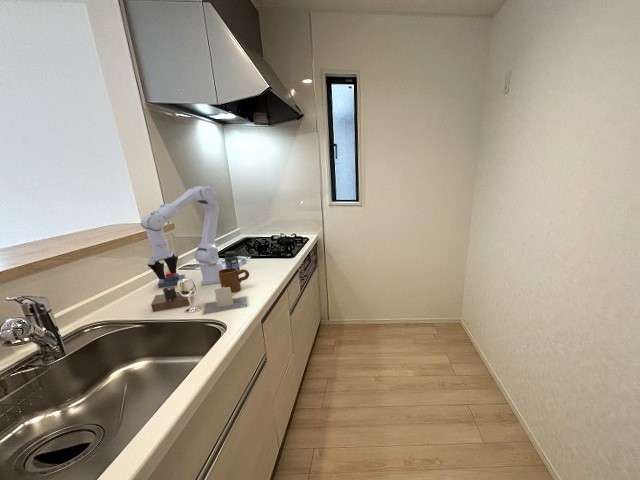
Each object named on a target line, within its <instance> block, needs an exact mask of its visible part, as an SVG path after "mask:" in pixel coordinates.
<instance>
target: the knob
mask: <svg viewBox="0 0 640 480" xmlns="http://www.w3.org/2000/svg"><path fill="white" fill-rule="evenodd" d="M162 292H163V294H164V296H165V298H166V299H171V298H174V297H176V296H177V294H176V292H177V291H176V286H170V287H163V288H162Z"/></svg>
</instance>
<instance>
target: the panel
mask: <svg viewBox="0 0 640 480" xmlns="http://www.w3.org/2000/svg"><path fill="white" fill-rule="evenodd" d="M176 294H177V296H176V297H174V298H171V299H166V298H165V296H164V293H161V294H156V295H155V296H154V298H153V300H152V302H151V304H150V306H151V310H152V312H153V313H154V312H161V311H166V310H172V309H178V308H183V307H184V308H185V307H188V306H189V307H190V306H191V305H190V302H189V300H188V297H183V296H181V295H180V294H179V292H178V291H176ZM190 297H191V298H192V296H190Z"/></svg>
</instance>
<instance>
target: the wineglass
mask: <svg viewBox="0 0 640 480" xmlns="http://www.w3.org/2000/svg"><path fill="white" fill-rule="evenodd" d="M176 286H177V287H176V288H177V292H179V294H180V295H181V296H183V297H188V300H189V302H190V305H189V306H190V307H189V308H187V309H186V310H185V312H186V313H193V312H194V313H195V312H197V311H199V310H200V308H199V307H197V306H193V303H192V296H194V295H195V294H196V293H197V287H196V284H195V282H194V280H193V279H192V278H186V279H182V280H179V281H178V282H177V285H176ZM190 296H191V297H190Z"/></svg>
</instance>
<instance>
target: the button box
mask: <svg viewBox="0 0 640 480" xmlns="http://www.w3.org/2000/svg"><path fill="white" fill-rule="evenodd" d="M182 279H187V278H186V274H179V273H178V272H176V273H175V276H170V277H166V274H165V279H158V282H157V287H158V288H159V289H164V288H167V287H176V286H177V282H178V281H179V280H182Z"/></svg>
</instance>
